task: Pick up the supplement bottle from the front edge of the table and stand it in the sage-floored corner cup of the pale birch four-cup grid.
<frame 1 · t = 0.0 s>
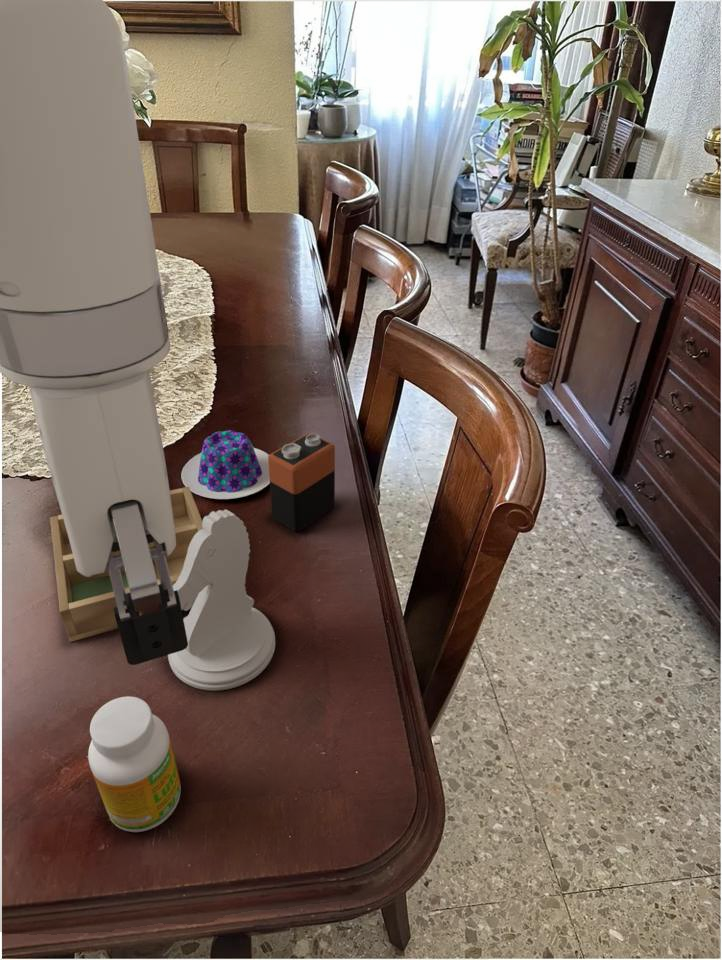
hand: (143, 594, 40), 20 cm above the table, tool pointing down, fingers open, 9 cm apart
chess piece: (222, 648, 62), on the table
grid: (138, 570, 70), on the table
battery: (304, 515, 79), on the table
pudding: (230, 476, 85), on the table
supplement bottle: (145, 799, 50), on the table
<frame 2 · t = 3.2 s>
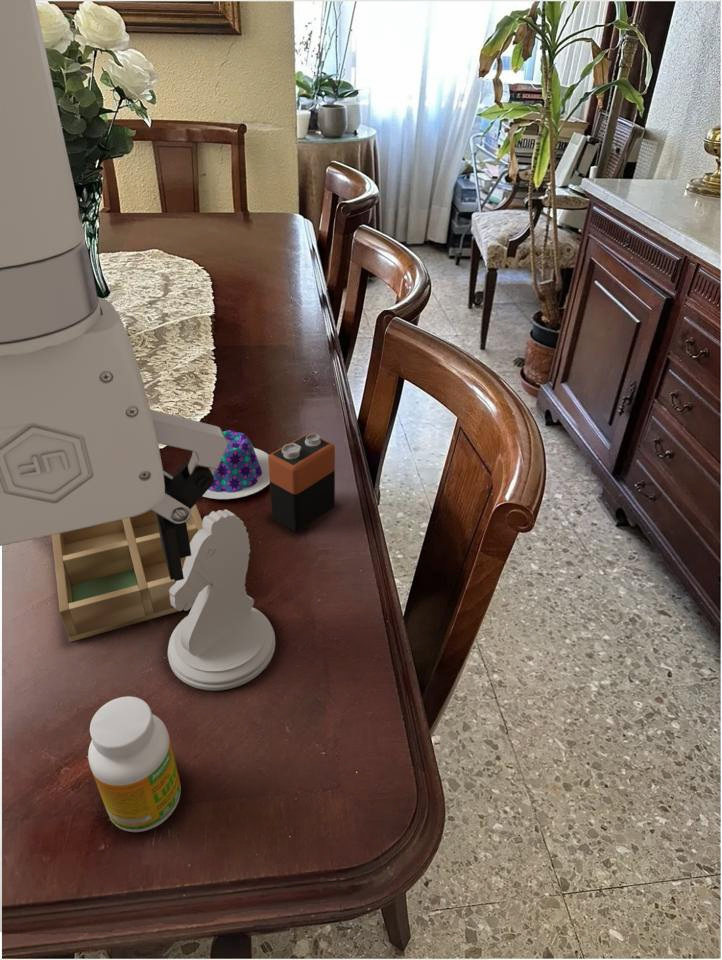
hand: (87, 586, 37), 22 cm above the table, tool pointing down, fingers open, 9 cm apart
nothing on the table moved.
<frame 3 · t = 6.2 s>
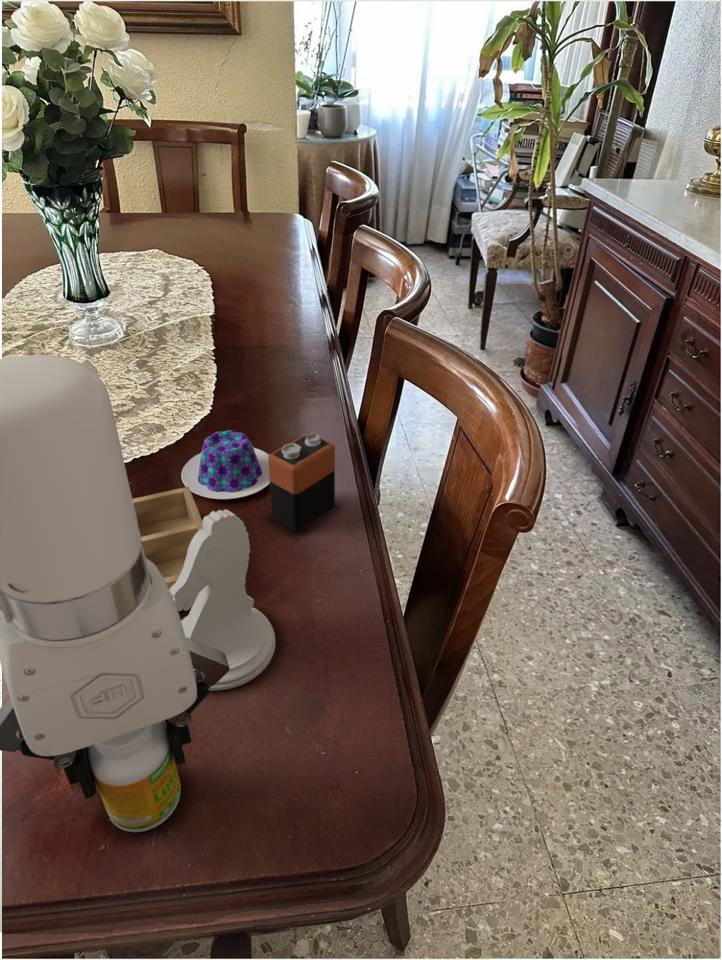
hand: (133, 761, 47), 5 cm above the table, tool pointing down, fingers closed on supplement bottle, 5 cm apart
supplement bottle: (145, 799, 50), on the table, touching gripper
everything else where it was.
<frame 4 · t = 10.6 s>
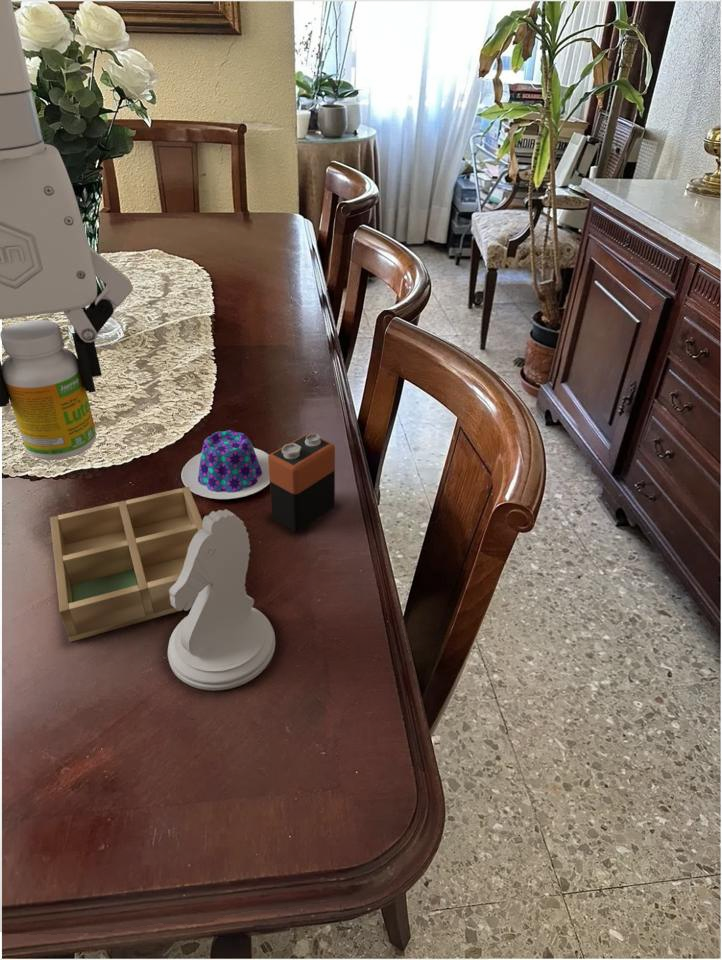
hand: (47, 389, 51), 25 cm above the table, tool pointing down, fingers closed on supplement bottle, 5 cm apart
supplement bottle: (62, 445, 53), point 20 cm above the table, touching gripper
everything else where it was.
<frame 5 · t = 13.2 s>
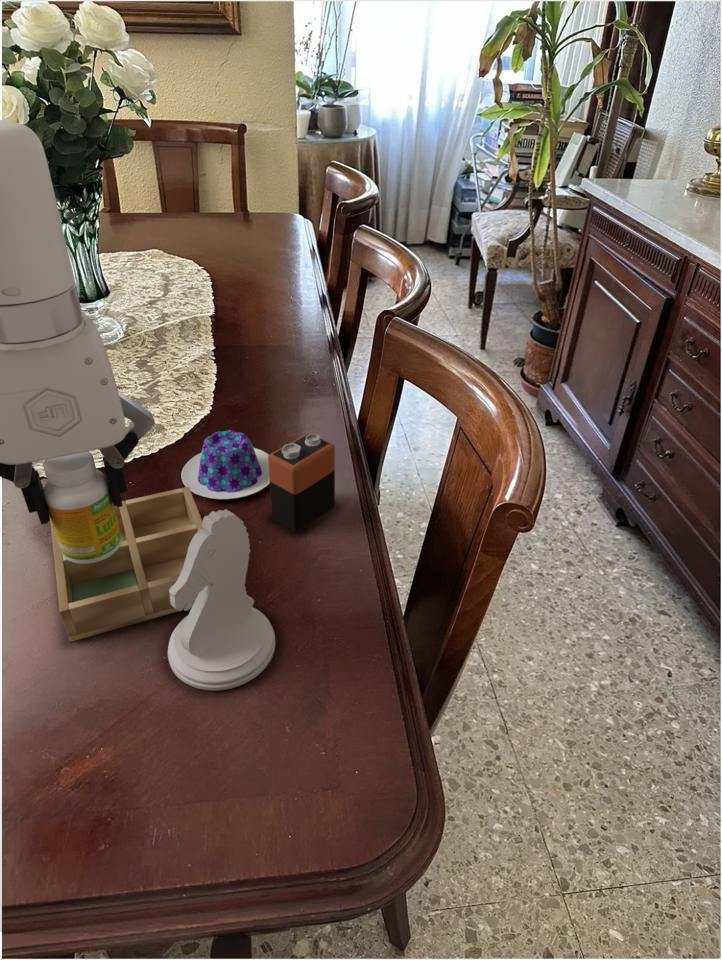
hand: (81, 504, 59), 12 cm above the table, tool pointing down, fingers closed on supplement bottle, 5 cm apart
supplement bottle: (93, 547, 62), point 7 cm above the table, touching gripper
everything else where it was.
when the fingers open (6 cm above the table, at t = 15.2 s): supplement bottle stays where it is, resting on grid.
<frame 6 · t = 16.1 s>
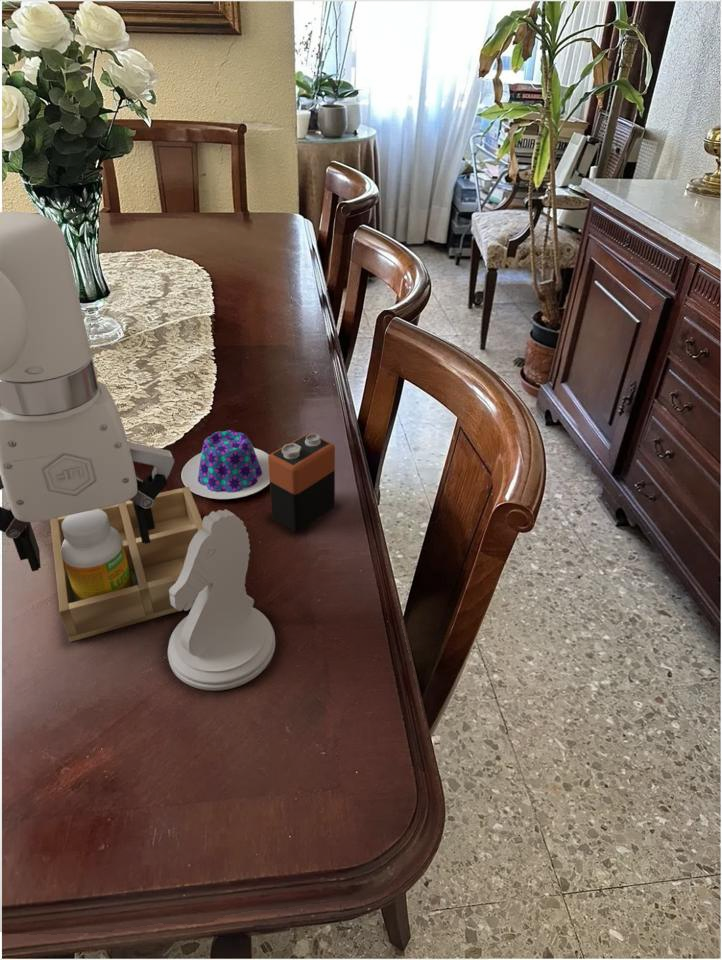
hand: (91, 547, 62), 7 cm above the table, tool pointing down, fingers open, 9 cm apart
supplement bottle: (106, 598, 66), point 1 cm above the table, touching grid
everything else where it was.
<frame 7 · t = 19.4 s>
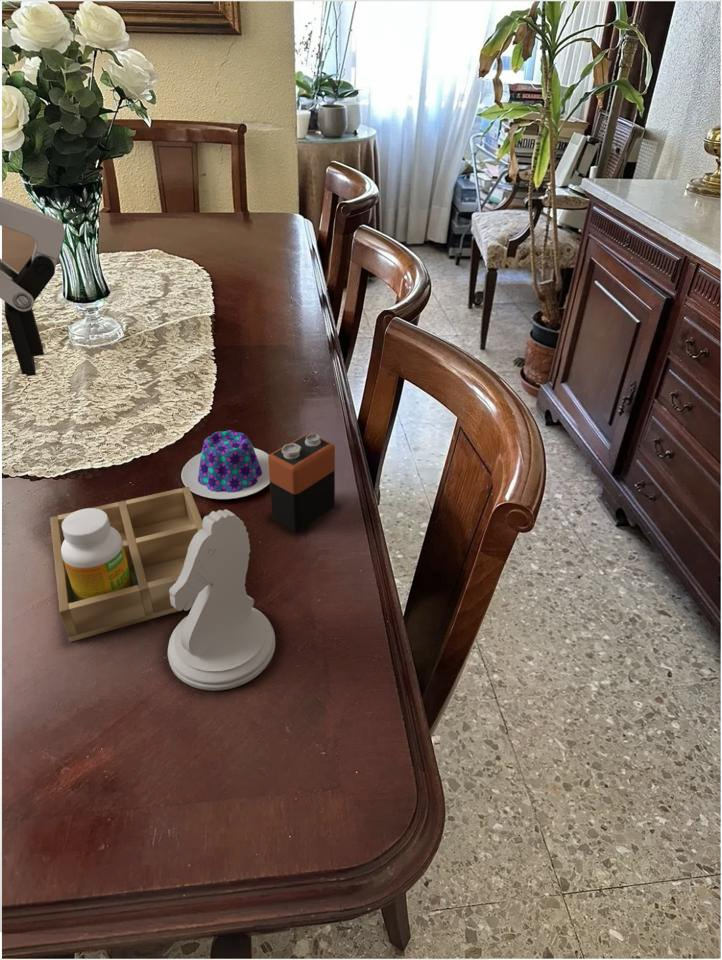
nothing on the table moved.
at the end: supplement bottle 0.1 cm from the target spot in the grid, point 0.6 cm above the grid's base; supplement bottle tilted 0° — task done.
